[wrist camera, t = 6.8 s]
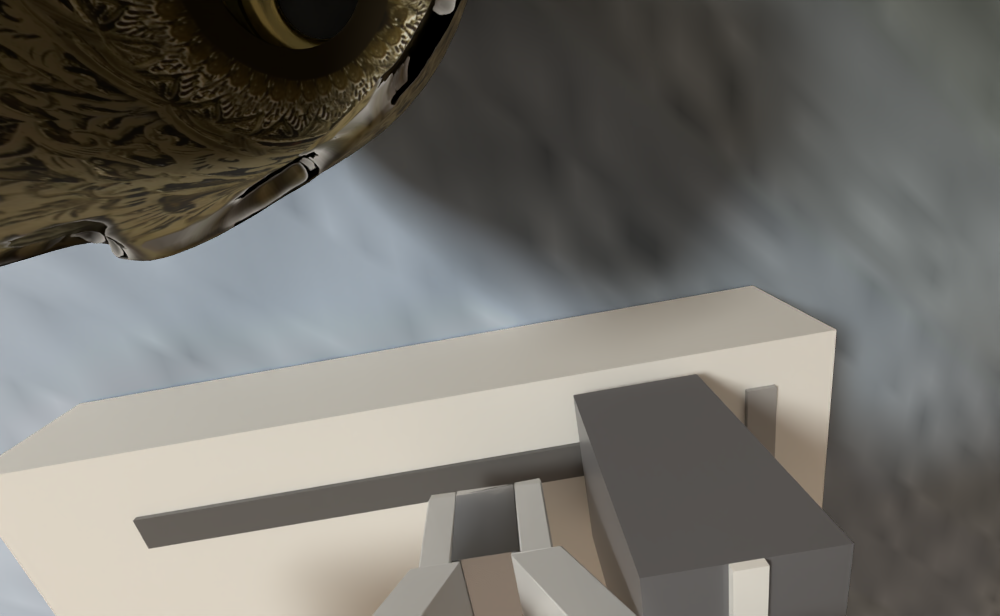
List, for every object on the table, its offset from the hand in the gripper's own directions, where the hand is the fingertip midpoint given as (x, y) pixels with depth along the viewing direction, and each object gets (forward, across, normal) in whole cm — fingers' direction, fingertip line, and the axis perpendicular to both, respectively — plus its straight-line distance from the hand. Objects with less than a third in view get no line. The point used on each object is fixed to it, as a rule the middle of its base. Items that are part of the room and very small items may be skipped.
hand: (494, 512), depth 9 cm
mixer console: (+4, +2, +5) cm, 7 cm away
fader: (+1, -3, 0) cm, 3 cm away
